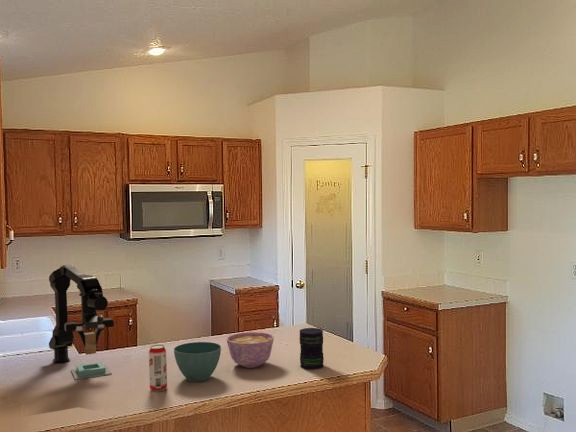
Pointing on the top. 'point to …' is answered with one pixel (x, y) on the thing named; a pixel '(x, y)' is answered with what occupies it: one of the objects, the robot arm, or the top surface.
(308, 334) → the storage jar
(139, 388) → the top surface
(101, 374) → the socket block
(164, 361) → the beer can
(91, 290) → the robot arm
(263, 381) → the top surface
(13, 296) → the top surface
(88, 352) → the walnut peg
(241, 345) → the bowl of food
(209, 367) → the teal bowl
